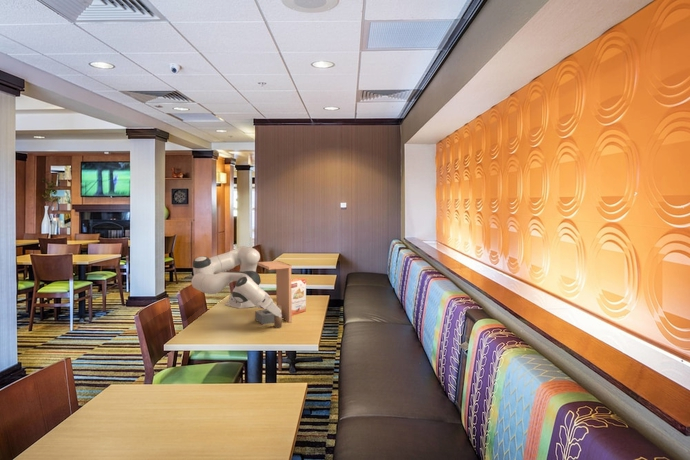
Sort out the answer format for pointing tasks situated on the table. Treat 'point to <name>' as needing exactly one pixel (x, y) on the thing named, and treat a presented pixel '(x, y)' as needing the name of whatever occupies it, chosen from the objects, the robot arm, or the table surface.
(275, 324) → the peg
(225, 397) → the table surface
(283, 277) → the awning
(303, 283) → the cracker box
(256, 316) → the socket
